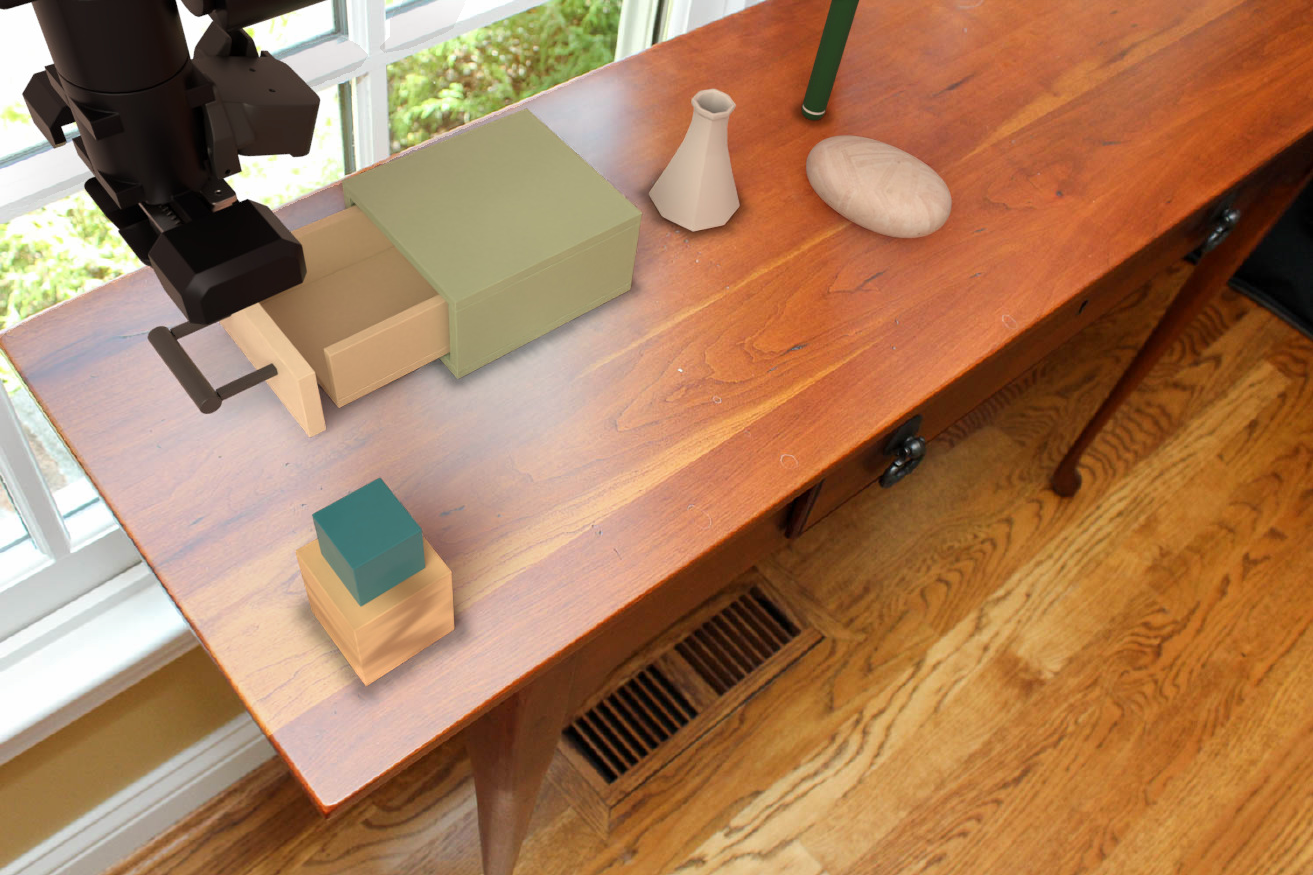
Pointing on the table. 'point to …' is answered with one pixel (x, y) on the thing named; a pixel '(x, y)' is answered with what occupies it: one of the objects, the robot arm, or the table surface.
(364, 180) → the cabinet
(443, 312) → the drawer
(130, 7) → the robot arm
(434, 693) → the table surface
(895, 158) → the decorative stone
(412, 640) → the riser
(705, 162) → the flask
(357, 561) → the block
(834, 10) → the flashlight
